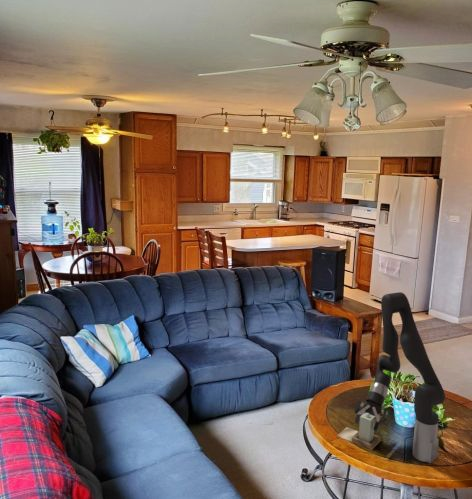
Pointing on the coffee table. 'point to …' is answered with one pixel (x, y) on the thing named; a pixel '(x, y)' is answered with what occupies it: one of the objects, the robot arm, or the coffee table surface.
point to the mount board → (354, 437)
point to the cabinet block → (366, 427)
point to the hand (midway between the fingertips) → (365, 427)
